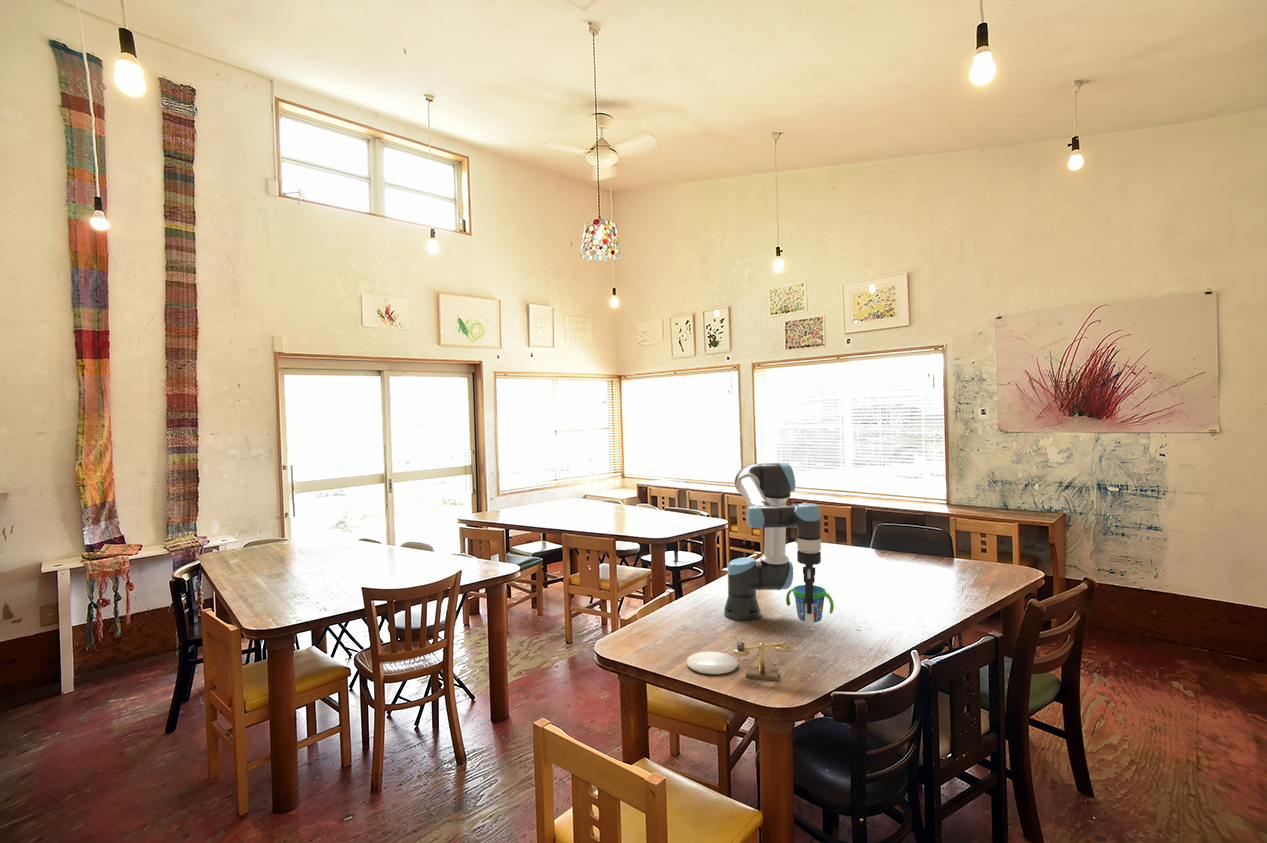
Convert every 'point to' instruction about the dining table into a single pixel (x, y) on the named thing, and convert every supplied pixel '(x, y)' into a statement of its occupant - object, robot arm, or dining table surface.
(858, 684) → the dining table surface
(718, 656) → the dish
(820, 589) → the snack cup
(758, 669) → the balance
